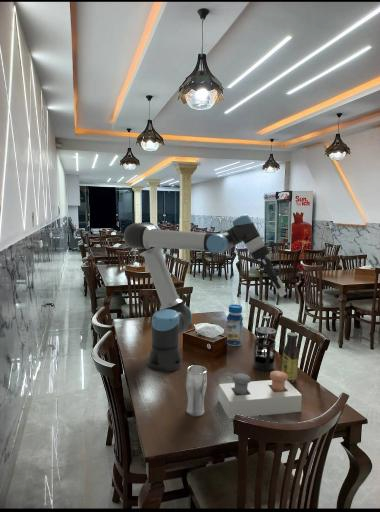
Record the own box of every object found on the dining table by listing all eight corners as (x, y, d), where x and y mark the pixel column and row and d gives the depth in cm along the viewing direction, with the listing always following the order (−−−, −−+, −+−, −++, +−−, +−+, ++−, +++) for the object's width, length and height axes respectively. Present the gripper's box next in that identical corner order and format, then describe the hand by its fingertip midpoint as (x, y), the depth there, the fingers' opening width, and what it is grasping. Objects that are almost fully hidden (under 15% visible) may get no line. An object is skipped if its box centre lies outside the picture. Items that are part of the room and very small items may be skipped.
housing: (229, 418, 118) (229, 401, 117) (218, 399, 129) (219, 384, 129) (300, 411, 123) (302, 395, 123) (284, 394, 135) (285, 378, 134)
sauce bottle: (279, 376, 150) (282, 330, 147) (294, 376, 149) (297, 331, 147) (282, 383, 143) (286, 336, 141) (298, 384, 143) (302, 336, 140)
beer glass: (184, 406, 125) (185, 365, 123) (204, 405, 125) (205, 364, 123) (185, 417, 118) (187, 374, 116) (206, 417, 118) (208, 374, 116)
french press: (278, 372, 154) (281, 320, 151) (257, 372, 152) (260, 320, 149) (268, 360, 165) (271, 312, 162) (248, 361, 164) (251, 312, 161)
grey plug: (235, 400, 121) (236, 382, 120) (229, 391, 127) (230, 374, 126) (251, 398, 122) (252, 380, 121) (245, 390, 128) (246, 372, 127)
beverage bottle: (245, 344, 184) (247, 306, 181) (232, 347, 179) (234, 309, 177) (234, 339, 191) (236, 303, 188) (222, 342, 186) (223, 304, 184)
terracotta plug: (273, 396, 124) (274, 379, 123) (266, 388, 130) (267, 371, 129) (289, 395, 125) (290, 377, 124) (281, 387, 131) (282, 370, 130)
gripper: (264, 245, 138) (292, 293, 137) (266, 243, 163) (290, 284, 161) (247, 254, 140) (275, 302, 139) (251, 252, 164) (275, 292, 163)
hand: (283, 292), depth 150 cm, fingers open, 13 cm apart
